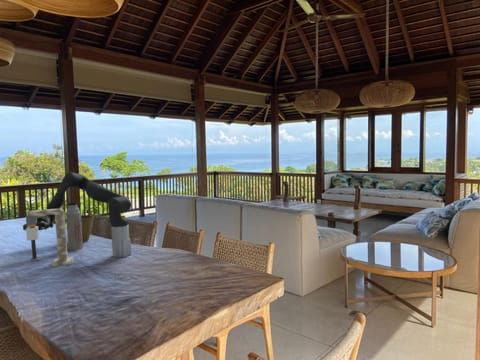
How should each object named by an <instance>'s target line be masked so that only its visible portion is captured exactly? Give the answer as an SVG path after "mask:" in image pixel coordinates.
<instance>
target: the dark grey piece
mask: <svg viewBox="0 0 480 360" xmlns="http://www.w3.org/2000/svg"><path fill="white" fill-rule="evenodd" d="M25 221H26V222H25V224H26V225H28V227H30V228H34V227H35V226H36V223H37V216H29V217H28V215H27V216H26V217H25ZM30 243H31V253H32V255H31V256H32V257H31V258H30V262H31V263H37V262H39V259H40V258H39V257H38V256H37V245H36V244H37V243H36V240H30Z"/></svg>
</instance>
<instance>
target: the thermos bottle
mask: <svg viewBox="0 0 480 360" xmlns="http://www.w3.org/2000/svg"><path fill="white" fill-rule="evenodd" d="M67 205H68V206H67V207H68V208H67V209H66V213H65V223H66V238H67V251H77V250H81V249H83V248H84V245H83V243H84V242H82V226H81V214H82V213H81V211H80V208H79V207H78V202H70V203H68V204H67Z"/></svg>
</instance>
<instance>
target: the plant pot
mask: <svg viewBox="0 0 480 360" xmlns="http://www.w3.org/2000/svg"><path fill="white" fill-rule="evenodd" d="M93 224H94V215H91V214H84V215H83V214H82V215H81V226H82V242H83V243H85V242H88V241H89V239H90V236H91V233H92V230H93Z"/></svg>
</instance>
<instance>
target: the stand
mask: <svg viewBox="0 0 480 360" xmlns="http://www.w3.org/2000/svg"><path fill="white" fill-rule="evenodd" d="M42 215H55V221H54V222H55V235H56V247H57V258H54V260H53V261H52V264H51V266H52V267H58V266H59V265H60V266H66V265H67V266H68V265H73V262H74V256H68V240H67V226H66V213H65V209H64V210H63V208H62V207H61V208H60V209H47V208H46V209H44V210H42V209H36V210H35V209H33V210H29V211H27V216H28V217H29V216H42Z"/></svg>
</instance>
